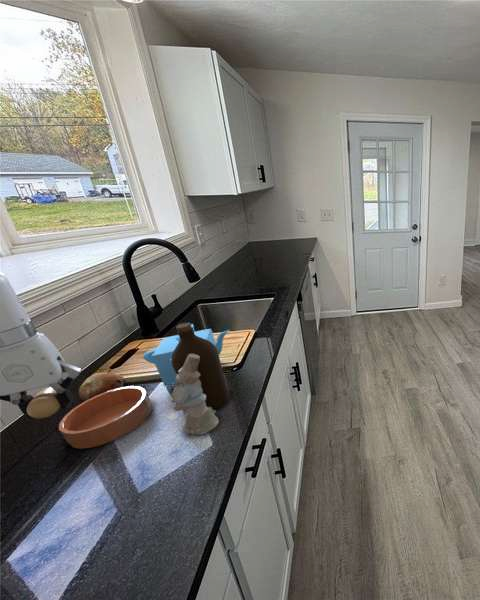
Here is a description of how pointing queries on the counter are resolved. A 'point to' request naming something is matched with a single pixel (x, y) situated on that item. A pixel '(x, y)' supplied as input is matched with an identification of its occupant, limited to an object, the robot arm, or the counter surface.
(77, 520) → the counter surface
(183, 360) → the olive oil
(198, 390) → the figurine
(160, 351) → the light blue teapot
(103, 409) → the terracotta dish
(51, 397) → the potato
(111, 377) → the bread roll
